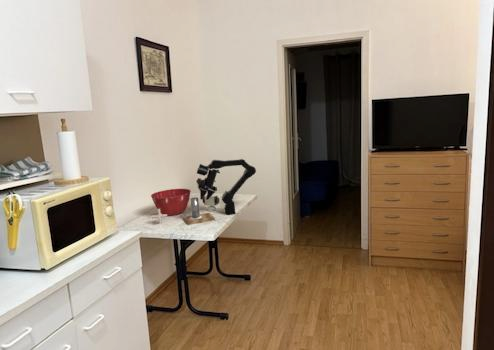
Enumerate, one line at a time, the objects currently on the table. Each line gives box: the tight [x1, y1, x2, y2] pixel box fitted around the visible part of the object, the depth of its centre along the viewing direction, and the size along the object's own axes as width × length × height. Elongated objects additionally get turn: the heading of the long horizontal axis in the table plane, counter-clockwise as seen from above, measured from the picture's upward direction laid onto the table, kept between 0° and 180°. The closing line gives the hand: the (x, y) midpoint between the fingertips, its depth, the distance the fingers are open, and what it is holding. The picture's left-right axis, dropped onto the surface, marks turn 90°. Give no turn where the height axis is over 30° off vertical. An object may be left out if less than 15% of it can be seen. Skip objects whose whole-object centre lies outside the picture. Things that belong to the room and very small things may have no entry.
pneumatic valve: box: [201, 194, 220, 212], centre depth 274 cm, size 6×12×12 cm, turn 70°
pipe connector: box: [151, 208, 168, 225], centre depth 250 cm, size 10×10×10 cm
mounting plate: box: [183, 212, 216, 225], centre depth 253 cm, size 18×14×2 cm
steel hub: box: [189, 196, 201, 218], centre depth 251 cm, size 5×5×13 cm
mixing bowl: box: [150, 188, 191, 217], centre depth 274 cm, size 28×28×16 cm
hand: (204, 199), depth 257 cm, fingers open, 9 cm apart
